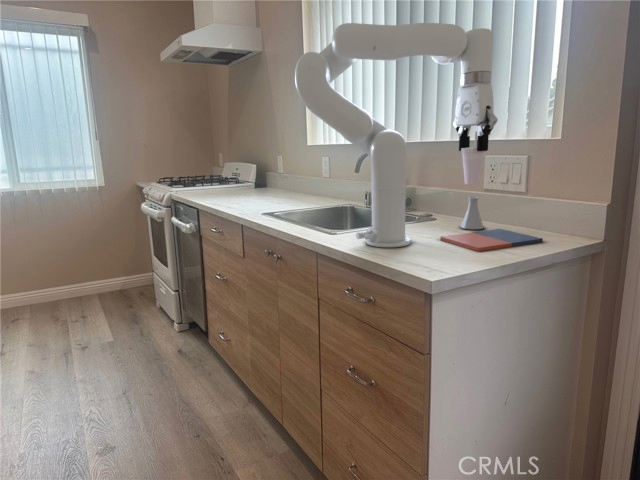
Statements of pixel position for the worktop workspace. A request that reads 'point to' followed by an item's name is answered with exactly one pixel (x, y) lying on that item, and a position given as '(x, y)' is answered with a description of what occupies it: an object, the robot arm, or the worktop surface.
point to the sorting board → (490, 239)
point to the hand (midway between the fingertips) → (473, 150)
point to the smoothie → (472, 163)
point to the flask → (472, 216)
